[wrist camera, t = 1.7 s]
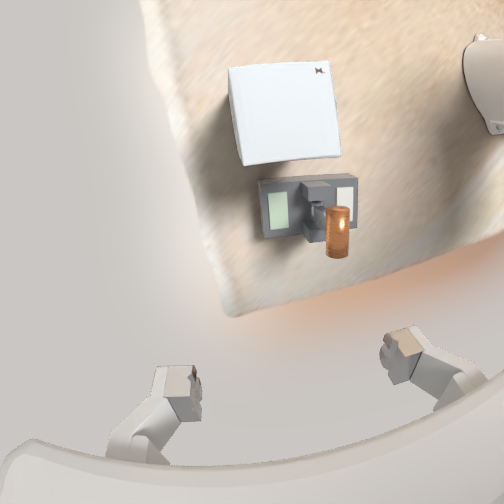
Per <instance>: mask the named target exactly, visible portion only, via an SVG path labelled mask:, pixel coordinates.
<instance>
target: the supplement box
mask: <svg viewBox="0 0 504 504" xmlns="http://www.w3.org/2000/svg"><path fill="white" fill-rule="evenodd" d="M228 94H229V101H230V109H231V115H232V121H233V128H234V134H235V139H236V144H237V151H238V154H239V157H240V159H241V161H242V164H243V166H248V165H256V164H265V163H273V162H283V161H294V160H306V159H320V158H336V157H341V154H342V150H341V139H340V130H339V121H338V112H337V102H336V97H335V90H334V84H333V78H332V71H331V64H330V62H329V61H294V62H278V63H267V64H256V65H247V66H239V67H232V68H228Z"/></svg>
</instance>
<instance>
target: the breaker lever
mask: <svg viewBox="0 0 504 504" xmlns="http://www.w3.org/2000/svg"><path fill="white" fill-rule="evenodd" d="M311 221H312V222H315V223H316V224H317V225H318V226H319V227H320V228H321V229H322V230H323V232H324V233H325V234H326V255H327V256H328V257H331V258H336V259H340V258H345V257H347V256H348V249H349V229H350V209H349V208H348V207H345V206H330V207H327V208H326V207H325V206H324V205H323V202H322V201H311Z"/></svg>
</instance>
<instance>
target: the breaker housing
mask: <svg viewBox="0 0 504 504" xmlns="http://www.w3.org/2000/svg"><path fill="white" fill-rule="evenodd" d="M257 183H258V194H259V205H260V217H261V228H262V232H263V235H264V238H272V237H281V236H289V235H298V234H304V236H305V237H306V239H307V240H308V241H309V243H313V242H321V241H326V234H325V233H324V232H323V230H322V229H321V228H320V227H319V226H318V225H317V224H316V223H315V222H312V221H311V201H322V202H323V205H324V206H325V207H326V208H327V207H330V206H345V207H348V208H349V209H350V229H353V228H357V213H358V178H357V177H355V176H353V175H350V174H348V173H345V174H324V175H307V176H293V177H281V178H270V179H259V180H257Z"/></svg>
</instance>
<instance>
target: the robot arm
mask: <svg viewBox="0 0 504 504" xmlns="http://www.w3.org/2000/svg"><path fill="white" fill-rule="evenodd" d="M463 64H464V73H465V78H466V82H467V86H468V89H469V92H470V94H471V97H472V99H473V101H474V103H475V105H476V107H477V108H478V110H479V111H480V113H481V114H482V116H483V117H484V119H485V122H486V125H487V128H488V130H489V132H490V134H495V135H496V134H504V39H490V40H488V39H487V38H486V37H485V36H484V35H482V34H476V36H475V39H474V42H473V43H471V44H469V45H468V46H467V48H466V50H465V53H464V60H463ZM383 341H384V343H385V344H384V345H383V346H382V347H381V349H380V360H381V363H382V365H383V367H384V368H386V369H388V370H389V371H388V376H389V378H390V379H391V381H392V383H393V385H396V384H399V383H402V382H405V381H408V380H410V382H412V383H413V384H415V385H417V386H418V387H420V388H421V389H423V390H424V391H426V392H427V393H429V394H430V395H432V396H433V397H435V398H436V399H438V402H437V403H436V405H435V406H434V409H433V411H434V412H433V413H431V414H429V415H426V416H424V417H422V418H420V419H418V420H416V421H413V422H411V423H409V424H406V425H404V426H401V427H399V428H397V429H394V430H391V431H389V432H386V433H384V434H381V435H378V436H375V437H372V438H370V439H366V440H363V441H360V442H357V443H353V444H350V445H346V446H343V447H339V448H335V449H332V450H328V451H323V452H319V453H315V454H310V455H305V456H300V457H295V458H289V459H283V460H277V461H269V462H261V463H252V464H240V465H225V466H172V465H170V463H169V461H168V460H167V459H166V458H165V457H164V456H163V455H162V454H161V453H160V451H161V450H162V449H163V447H164V446H165V445H166V443H167V442H168V440H169V439H170V437H171V436H172V435H173V434H174V432H175V431H176V429H177V428H178V426H179V425H180V424H181V422H192V421H193V422H195V421H201V411H202V408H201V405H200V403H199V402H200V401H201V400H202V388H201V383H200V379H199V378H198V377H197V376H196V372H197V371H196V369H195V366H194V365H191V366H189V365H187V366H158V367H157V368H156V371H155V375H154V380H153V385H152V389H151V395H150V397H146V398H145V399H144V400H143V401H142V402H141V403H140V404H139V405H138V406H137V407H136V408H135V409H134V410H133V411H132V412H131V413H130V414H129V415H128V416H127V417H126V418H125V419H124V420H123V421H122V422H121V423H120V424H119V425H117V427H115V428H114V429H113V430H112V431H111V434H110V439H109V442H108V447H107V452H106V456H105V458H104V457H100V456H95V455H90V454H86V453H82V452H78V451H74V450H70V449H66V448H62V447H59V446H56V445H53V444H50V443H47V442H44V441H41V440H38V439H30V440H28V441H26V442H24V443H23V444H21V445H20V446H18V447H17V448H16V449H14V450H13V451H12V452H10V453H9V454H8V455H7V457H6V458H5V460H4V462H3V464H2V466H1V469H0V504H504V370H503V371H501V372H500V373H498V374H497V375H496V376H494V377H493V378H491V379H490V380H487V378H486V377H485V375H484V374H483V373H482V372H481V370H480V369H479V368H478V367H477V365H476V364H475V363H473V362H471V361H468V360H466V359H464V358H462V357H459V356H457V355H454V354H452V353H450V352H448V351H445V350H443V349H441V348H438V347H433V346H432V345H431V343H430V342H429V341H428V340H427V338H426V337H425V336H424V335H423V333H422V332H421V331H420V330H419V328H418V327H417V326H415V325H414V326H410V327H407V328H403V329H400V330H396V331H394V332H390V333H386V334H385V336H384V339H383Z"/></svg>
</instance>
